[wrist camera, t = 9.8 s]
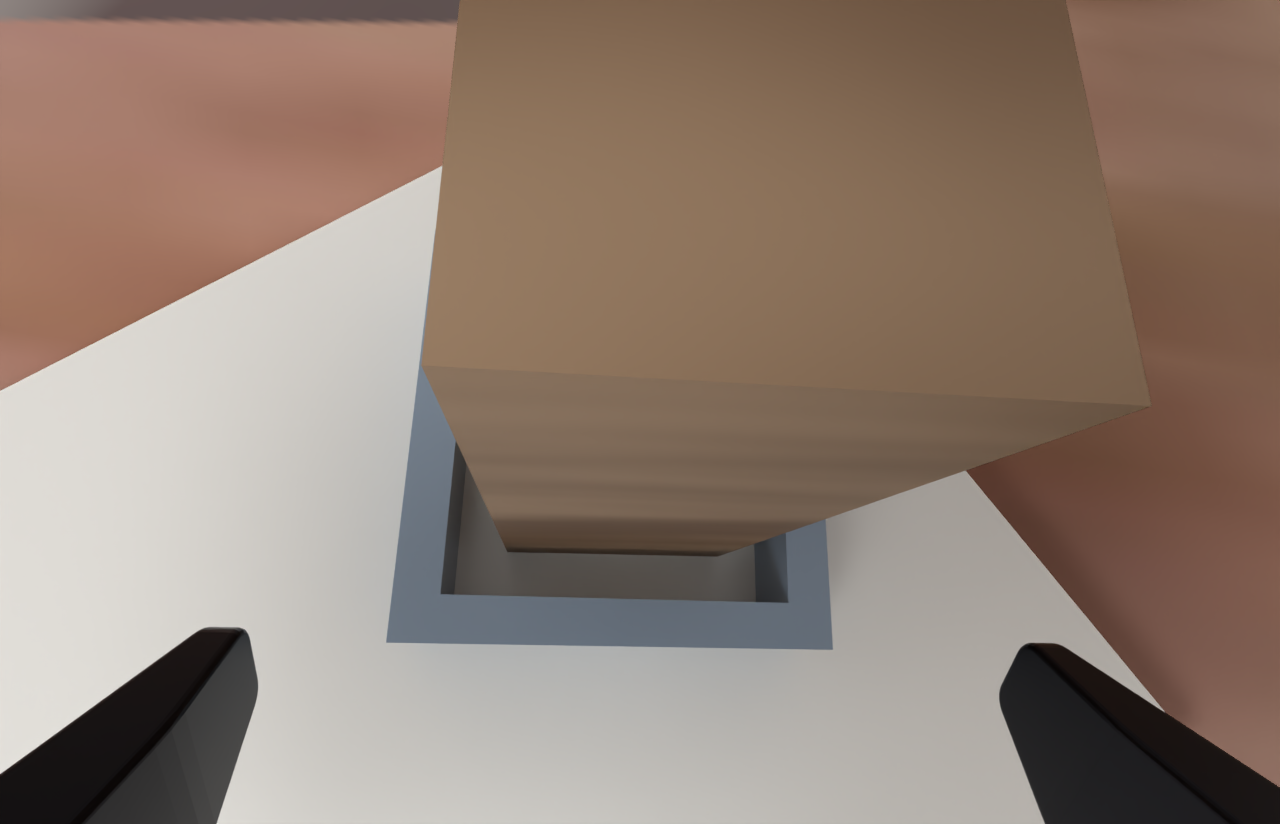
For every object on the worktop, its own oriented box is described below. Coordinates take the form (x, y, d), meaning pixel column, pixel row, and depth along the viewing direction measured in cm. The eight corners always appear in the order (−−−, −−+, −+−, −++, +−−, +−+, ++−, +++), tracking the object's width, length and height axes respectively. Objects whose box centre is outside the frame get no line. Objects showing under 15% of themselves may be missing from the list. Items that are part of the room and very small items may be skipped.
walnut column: (717, 556, 15) (1151, 407, 4) (507, 551, 14) (420, 365, 4) (712, 362, 16) (1040, -118, 6) (520, 351, 15) (481, -210, 5)
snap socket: (794, 645, 14) (832, 649, 13) (407, 639, 13) (386, 643, 12) (779, 303, 17) (810, 263, 15) (447, 276, 16) (435, 229, 14)
